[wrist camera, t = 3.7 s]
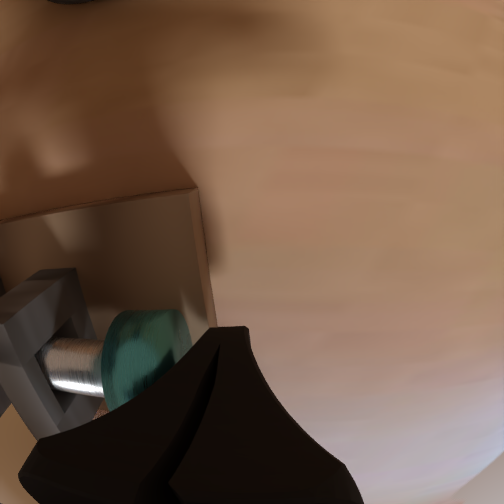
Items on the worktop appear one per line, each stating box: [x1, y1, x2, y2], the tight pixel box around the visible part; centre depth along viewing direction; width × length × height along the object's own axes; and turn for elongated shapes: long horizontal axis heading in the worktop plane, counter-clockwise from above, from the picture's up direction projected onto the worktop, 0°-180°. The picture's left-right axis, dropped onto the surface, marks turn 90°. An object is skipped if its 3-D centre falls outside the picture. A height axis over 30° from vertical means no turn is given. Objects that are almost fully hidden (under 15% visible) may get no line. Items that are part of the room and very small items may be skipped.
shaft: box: [34, 309, 192, 412], centre depth 10 cm, size 15×4×4 cm, turn 95°
